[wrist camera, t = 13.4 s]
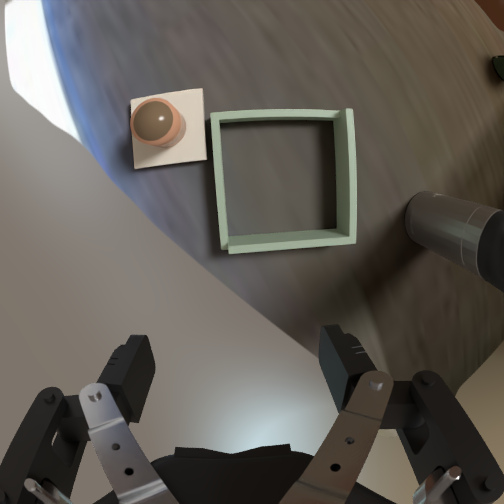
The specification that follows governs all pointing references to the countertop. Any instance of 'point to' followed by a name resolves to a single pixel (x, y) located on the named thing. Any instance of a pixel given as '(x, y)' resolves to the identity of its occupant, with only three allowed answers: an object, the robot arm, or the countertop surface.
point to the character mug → (499, 65)
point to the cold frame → (344, 183)
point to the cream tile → (193, 140)
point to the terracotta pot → (157, 123)
